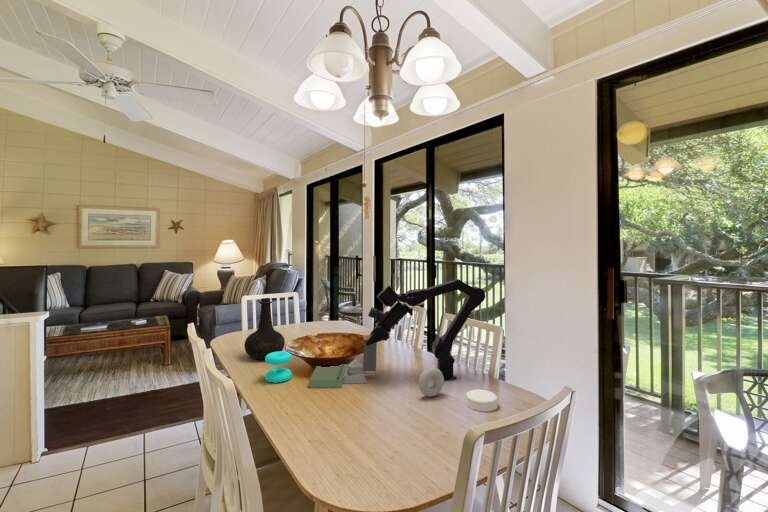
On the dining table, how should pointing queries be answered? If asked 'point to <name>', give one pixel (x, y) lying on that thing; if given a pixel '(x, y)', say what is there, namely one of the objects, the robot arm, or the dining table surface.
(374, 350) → the grey tan rectangular block
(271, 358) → the donuts
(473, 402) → the white round disc
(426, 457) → the dining table surface
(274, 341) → the dark bulbous vase
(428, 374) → the donut
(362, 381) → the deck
